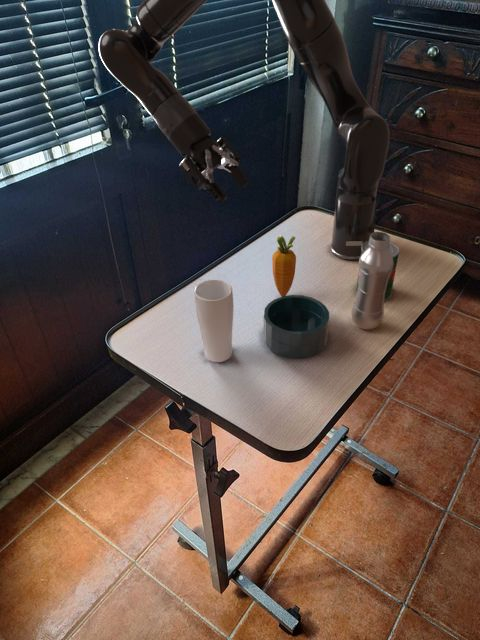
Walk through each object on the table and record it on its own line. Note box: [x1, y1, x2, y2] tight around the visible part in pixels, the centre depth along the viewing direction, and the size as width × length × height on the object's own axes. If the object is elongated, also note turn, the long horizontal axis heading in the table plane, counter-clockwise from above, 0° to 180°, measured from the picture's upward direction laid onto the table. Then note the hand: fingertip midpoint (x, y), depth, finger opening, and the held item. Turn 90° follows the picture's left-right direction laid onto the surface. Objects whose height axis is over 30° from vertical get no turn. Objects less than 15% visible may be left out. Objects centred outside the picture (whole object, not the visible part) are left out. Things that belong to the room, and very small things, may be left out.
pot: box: [263, 294, 330, 359], centre depth 101 cm, size 13×13×6 cm
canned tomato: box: [355, 241, 400, 302], centre depth 112 cm, size 8×8×11 cm
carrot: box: [271, 236, 297, 297], centre depth 109 cm, size 5×5×15 cm
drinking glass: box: [193, 279, 235, 363], centre depth 95 cm, size 7×7×15 cm
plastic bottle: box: [351, 231, 393, 330], centre depth 100 cm, size 6×7×20 cm
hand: (235, 192), depth 104 cm, fingers open, 8 cm apart
